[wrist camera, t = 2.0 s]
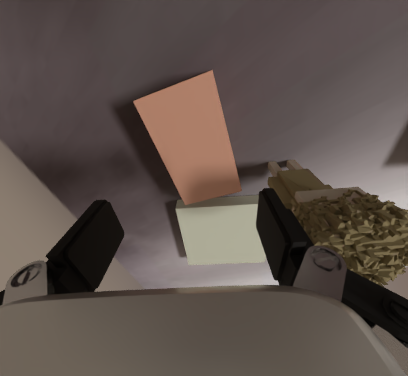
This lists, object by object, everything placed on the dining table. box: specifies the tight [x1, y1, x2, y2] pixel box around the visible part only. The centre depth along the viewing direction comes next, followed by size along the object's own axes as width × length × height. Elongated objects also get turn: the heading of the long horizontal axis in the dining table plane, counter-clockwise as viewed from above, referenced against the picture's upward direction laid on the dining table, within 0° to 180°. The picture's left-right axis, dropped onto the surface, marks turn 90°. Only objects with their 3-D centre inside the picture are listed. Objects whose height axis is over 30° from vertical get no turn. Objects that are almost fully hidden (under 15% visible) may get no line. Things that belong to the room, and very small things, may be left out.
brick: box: [133, 70, 242, 205], centre depth 19 cm, size 12×7×4 cm, turn 18°
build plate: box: [176, 195, 266, 265], centre depth 28 cm, size 14×14×2 cm
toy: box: [268, 160, 408, 287], centre depth 16 cm, size 7×7×15 cm
